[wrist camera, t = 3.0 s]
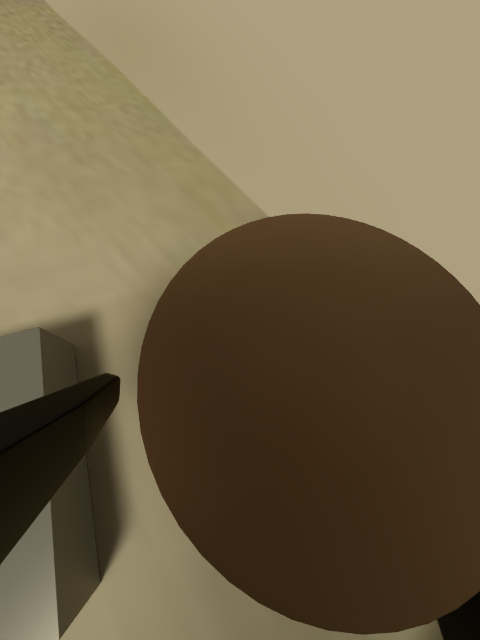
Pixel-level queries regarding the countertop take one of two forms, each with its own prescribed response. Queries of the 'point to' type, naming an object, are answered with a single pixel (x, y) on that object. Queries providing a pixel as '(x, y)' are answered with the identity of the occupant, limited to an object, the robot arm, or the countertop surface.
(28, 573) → the socket block
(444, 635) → the robot arm
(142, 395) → the walnut peg
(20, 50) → the countertop surface
